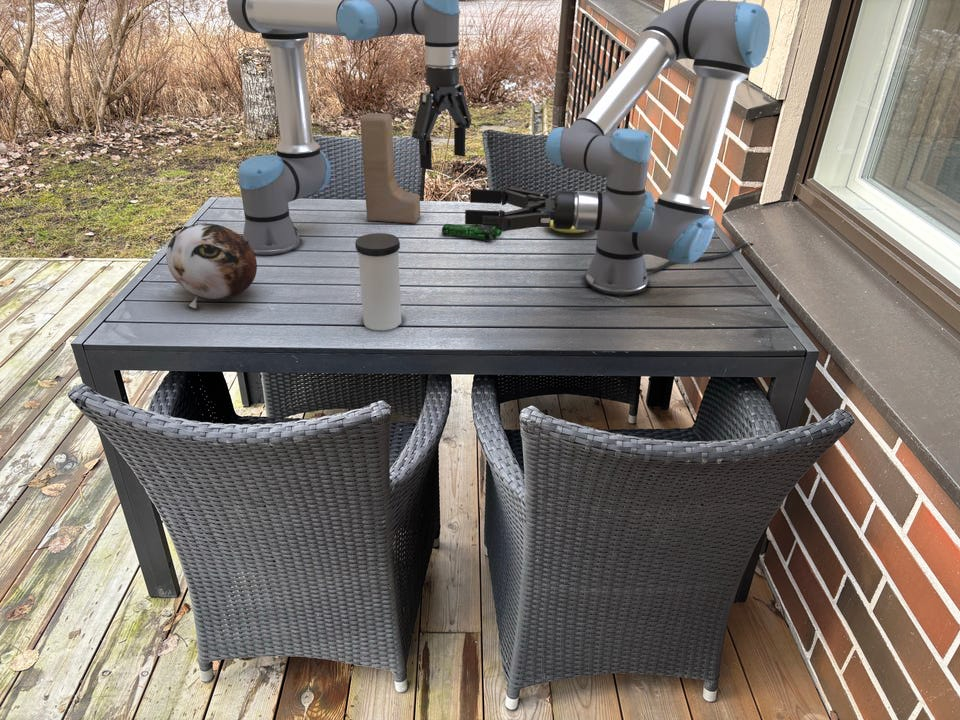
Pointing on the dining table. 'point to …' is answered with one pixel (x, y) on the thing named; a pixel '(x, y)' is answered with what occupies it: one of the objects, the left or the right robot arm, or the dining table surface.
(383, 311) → the jar
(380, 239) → the lid
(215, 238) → the cat face balloon
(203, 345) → the dining table surface
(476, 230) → the handgun
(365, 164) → the decorative block
